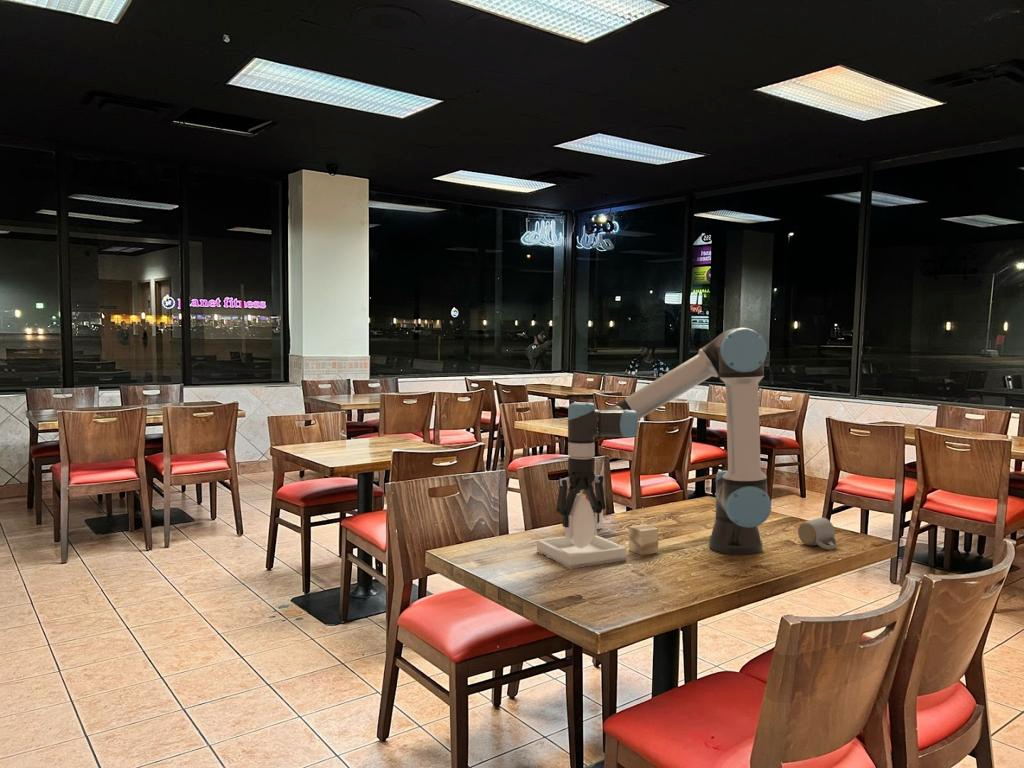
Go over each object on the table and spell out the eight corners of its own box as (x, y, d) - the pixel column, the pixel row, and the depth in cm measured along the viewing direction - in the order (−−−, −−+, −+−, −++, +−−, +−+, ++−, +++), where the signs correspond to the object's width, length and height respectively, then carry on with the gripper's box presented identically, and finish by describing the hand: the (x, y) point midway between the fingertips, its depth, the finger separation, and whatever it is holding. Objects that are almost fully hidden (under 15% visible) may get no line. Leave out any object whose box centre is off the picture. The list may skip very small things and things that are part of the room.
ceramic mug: (795, 542, 223) (796, 517, 223) (815, 539, 227) (816, 515, 226) (823, 552, 214) (824, 526, 213) (843, 548, 217) (844, 523, 217)
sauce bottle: (563, 544, 212) (563, 483, 211) (588, 542, 214) (588, 481, 213) (573, 552, 205) (573, 488, 204) (599, 549, 207) (599, 486, 206)
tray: (626, 560, 206) (626, 547, 205) (569, 569, 197) (569, 556, 197) (590, 544, 222) (590, 532, 222) (536, 551, 214) (536, 540, 214)
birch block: (658, 552, 213) (658, 528, 213) (641, 555, 211) (641, 531, 210) (645, 547, 219) (645, 524, 218) (628, 549, 216) (629, 526, 216)
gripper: (604, 452, 216) (603, 529, 217) (543, 457, 207) (543, 537, 208) (619, 456, 209) (618, 535, 211) (556, 461, 200) (556, 544, 201)
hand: (581, 536), depth 209 cm, fingers closed on sauce bottle, 8 cm apart
